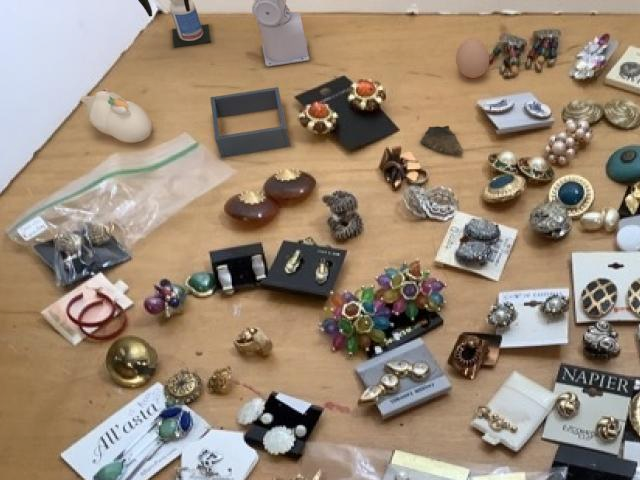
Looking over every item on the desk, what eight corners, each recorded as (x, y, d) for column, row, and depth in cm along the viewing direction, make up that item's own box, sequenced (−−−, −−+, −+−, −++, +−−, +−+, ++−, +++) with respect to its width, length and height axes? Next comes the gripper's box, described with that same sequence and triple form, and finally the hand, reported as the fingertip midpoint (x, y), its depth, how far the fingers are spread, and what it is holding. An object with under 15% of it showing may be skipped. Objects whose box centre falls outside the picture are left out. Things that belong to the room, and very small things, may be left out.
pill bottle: (208, 33, 183) (196, -8, 175) (190, 44, 181) (177, 3, 173) (191, 25, 185) (178, -16, 177) (173, 36, 182) (159, -6, 175)
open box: (282, 105, 169) (278, 86, 165) (290, 146, 161) (286, 127, 158) (216, 115, 167) (210, 97, 163) (221, 157, 159) (215, 139, 156)
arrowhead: (460, 160, 160) (460, 154, 158) (416, 145, 162) (416, 140, 161) (476, 140, 163) (476, 134, 162) (433, 125, 166) (433, 120, 165)
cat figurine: (143, 102, 154) (79, 72, 156) (124, 140, 154) (60, 110, 156) (169, 121, 163) (109, 93, 166) (151, 157, 163) (91, 128, 166)
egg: (463, 62, 179) (463, 27, 172) (494, 69, 177) (494, 34, 170) (451, 80, 175) (450, 45, 168) (482, 88, 173) (482, 53, 167)
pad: (208, 25, 186) (208, 24, 185) (210, 42, 182) (210, 41, 182) (172, 30, 184) (172, 29, 184) (174, 47, 181) (173, 46, 180)
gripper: (109, -39, 156) (134, 26, 167) (186, -49, 158) (205, 16, 169) (109, -57, 160) (133, 8, 171) (184, -66, 162) (203, -1, 173)
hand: (169, 11), depth 170 cm, fingers open, 7 cm apart
